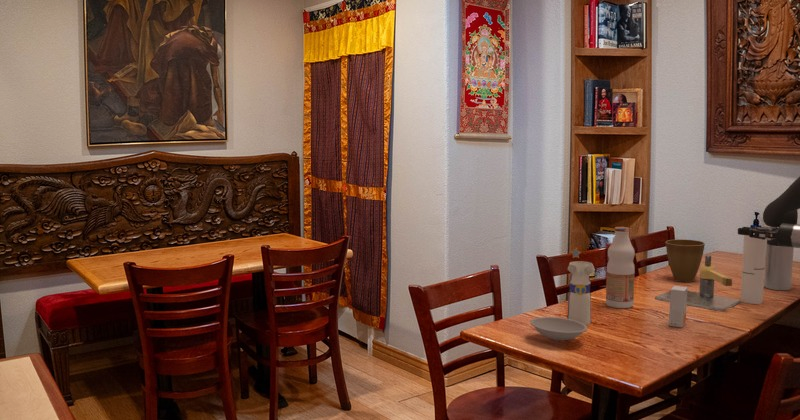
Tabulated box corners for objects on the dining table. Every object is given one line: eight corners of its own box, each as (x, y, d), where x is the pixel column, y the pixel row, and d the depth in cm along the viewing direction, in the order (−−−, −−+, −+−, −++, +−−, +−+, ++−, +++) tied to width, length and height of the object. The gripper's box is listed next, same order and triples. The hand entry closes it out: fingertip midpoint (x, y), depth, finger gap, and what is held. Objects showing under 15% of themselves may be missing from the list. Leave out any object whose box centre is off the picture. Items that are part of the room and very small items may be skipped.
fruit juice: (610, 309, 239) (613, 229, 236) (602, 302, 249) (604, 225, 245) (637, 308, 240) (640, 229, 236) (627, 301, 249) (630, 225, 246)
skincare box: (682, 328, 216) (684, 290, 215) (668, 326, 219) (670, 289, 217) (686, 323, 222) (687, 287, 220) (672, 321, 224) (673, 285, 222)
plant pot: (674, 274, 293) (675, 238, 291) (709, 280, 282) (711, 242, 281) (657, 280, 283) (658, 242, 281) (693, 286, 272) (694, 246, 271)
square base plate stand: (675, 291, 264) (676, 250, 262) (740, 302, 247) (743, 258, 245) (654, 299, 252) (656, 256, 250) (722, 311, 235) (724, 265, 233)
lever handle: (697, 276, 254) (698, 264, 254) (710, 276, 254) (711, 264, 254) (721, 288, 235) (722, 276, 234) (735, 288, 235) (736, 276, 234)
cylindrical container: (765, 304, 244) (769, 235, 241) (743, 303, 246) (747, 234, 243) (759, 299, 251) (763, 232, 248) (738, 298, 253) (741, 231, 250)
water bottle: (594, 325, 219) (596, 249, 216) (566, 324, 221) (568, 248, 218) (592, 318, 227) (594, 244, 224) (565, 317, 229) (567, 243, 226)
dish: (519, 339, 206) (519, 323, 206) (547, 329, 216) (548, 314, 215) (569, 353, 193) (570, 335, 193) (597, 342, 203) (597, 325, 202)
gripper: (804, 222, 225) (748, 217, 237) (790, 226, 215) (732, 221, 227) (802, 244, 225) (747, 238, 238) (788, 250, 216) (731, 243, 228)
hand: (740, 230), depth 232 cm, fingers open, 3 cm apart
